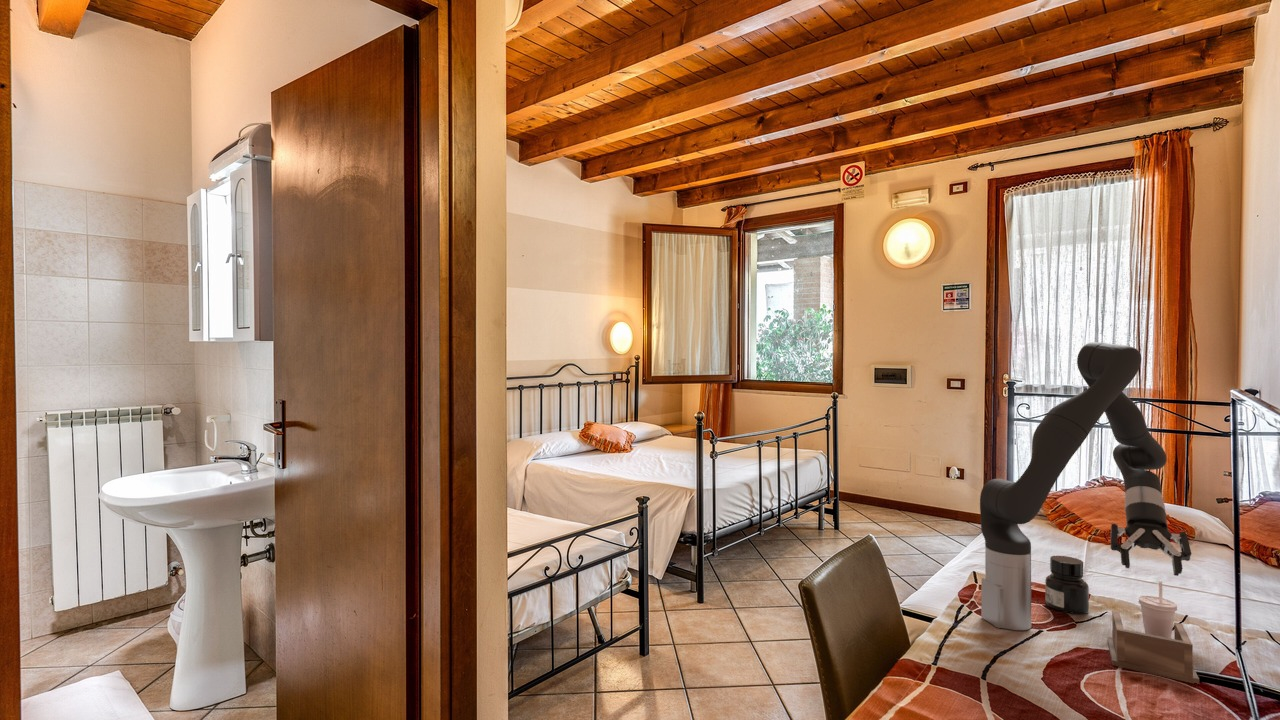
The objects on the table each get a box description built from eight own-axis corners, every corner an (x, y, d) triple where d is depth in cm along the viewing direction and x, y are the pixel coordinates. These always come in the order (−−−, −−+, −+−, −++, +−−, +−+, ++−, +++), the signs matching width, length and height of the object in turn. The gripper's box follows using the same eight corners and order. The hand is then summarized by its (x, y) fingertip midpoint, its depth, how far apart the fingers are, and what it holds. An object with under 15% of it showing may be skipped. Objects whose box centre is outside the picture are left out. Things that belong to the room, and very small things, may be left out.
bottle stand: (1107, 641, 132) (1107, 609, 132) (1186, 657, 125) (1186, 623, 125) (1112, 665, 121) (1112, 630, 121) (1199, 684, 114) (1199, 647, 114)
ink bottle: (1041, 598, 156) (1041, 552, 157) (1081, 603, 153) (1081, 556, 153) (1051, 612, 147) (1050, 563, 148) (1094, 618, 144) (1094, 568, 144)
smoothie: (1169, 655, 125) (1168, 588, 126) (1132, 643, 131) (1132, 578, 131) (1183, 649, 128) (1183, 583, 128) (1147, 637, 134) (1146, 574, 134)
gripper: (1108, 497, 148) (1113, 555, 139) (1186, 505, 140) (1196, 567, 131) (1107, 514, 152) (1111, 572, 143) (1182, 522, 144) (1191, 585, 135)
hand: (1151, 570), depth 137 cm, fingers open, 8 cm apart
